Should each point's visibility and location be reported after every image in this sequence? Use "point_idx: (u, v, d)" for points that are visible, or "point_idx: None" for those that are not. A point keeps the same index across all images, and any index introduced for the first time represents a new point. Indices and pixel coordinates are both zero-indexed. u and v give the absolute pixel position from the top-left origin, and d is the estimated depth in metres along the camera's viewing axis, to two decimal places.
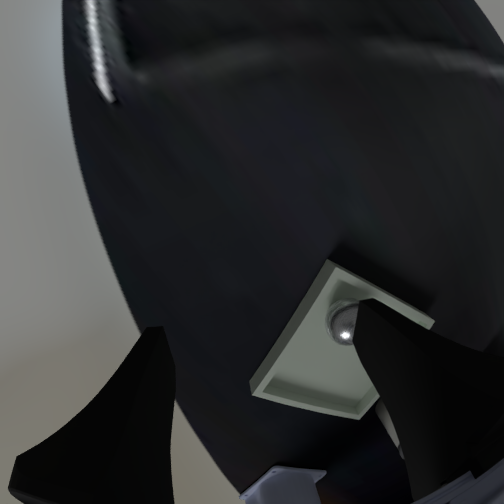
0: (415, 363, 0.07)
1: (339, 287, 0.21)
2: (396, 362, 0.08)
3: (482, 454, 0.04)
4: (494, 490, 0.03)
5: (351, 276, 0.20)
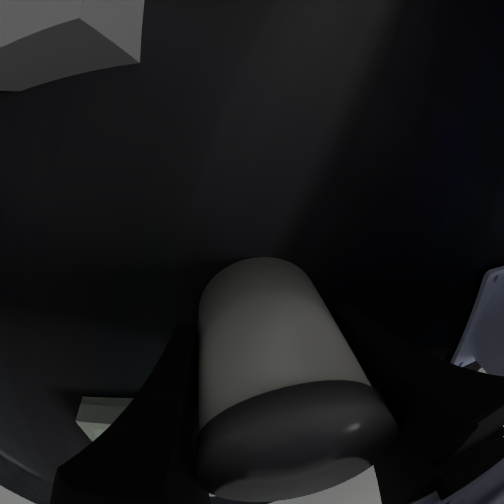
0: (382, 374, 0.07)
1: None
2: (365, 371, 0.08)
3: (449, 475, 0.04)
4: (494, 490, 0.03)
5: None
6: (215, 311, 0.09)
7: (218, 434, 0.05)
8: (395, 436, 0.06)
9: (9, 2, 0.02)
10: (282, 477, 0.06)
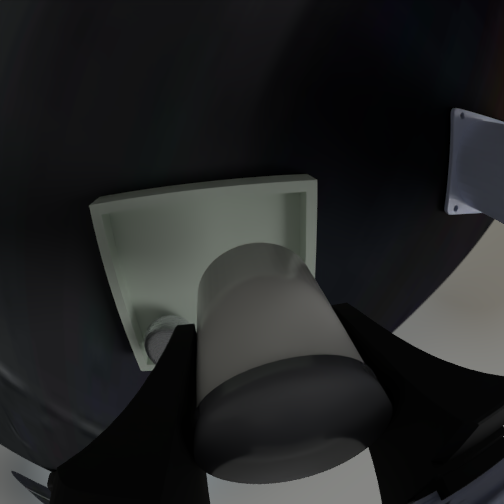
0: (382, 374, 0.07)
1: None
2: None
3: (450, 475, 0.04)
4: (494, 490, 0.03)
5: (136, 356, 0.18)
6: (214, 292, 0.09)
7: (216, 406, 0.06)
8: (389, 416, 0.06)
9: None
10: (277, 455, 0.06)
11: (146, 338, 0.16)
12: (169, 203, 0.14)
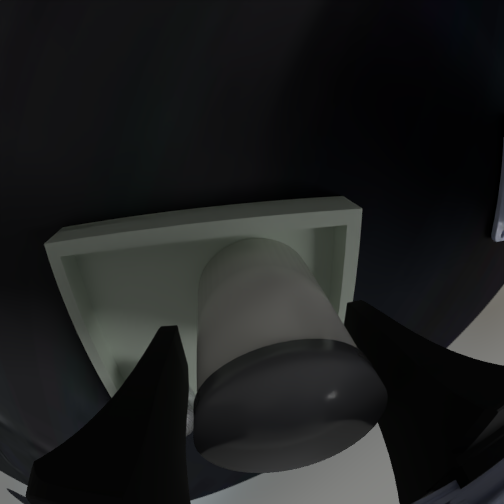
0: (401, 368, 0.07)
1: None
2: (382, 366, 0.08)
3: (468, 463, 0.04)
4: (494, 490, 0.03)
5: None
6: (214, 284, 0.10)
7: (216, 388, 0.06)
8: (384, 402, 0.06)
9: None
10: (276, 440, 0.06)
11: None
12: (151, 243, 0.10)
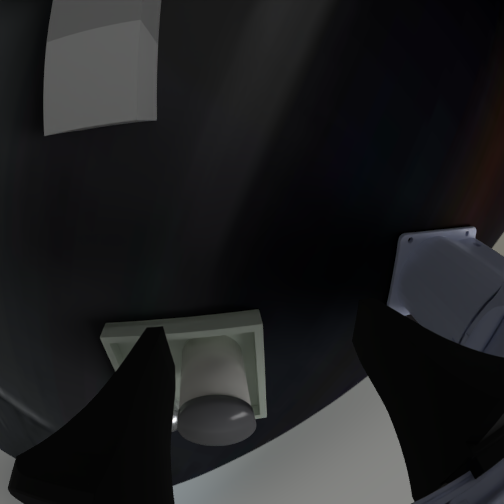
0: (415, 363, 0.07)
1: None
2: (396, 362, 0.08)
3: (482, 454, 0.04)
4: (494, 490, 0.03)
5: None
6: (187, 360, 0.20)
7: (184, 409, 0.16)
8: (253, 420, 0.16)
9: (98, 102, 0.11)
10: (209, 430, 0.16)
11: None
12: None
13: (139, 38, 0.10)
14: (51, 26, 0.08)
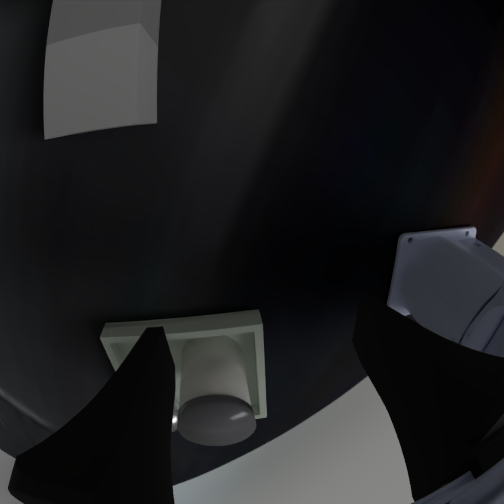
0: (415, 363, 0.07)
1: None
2: (396, 362, 0.08)
3: (482, 454, 0.04)
4: (494, 490, 0.03)
5: None
6: (187, 360, 0.20)
7: (184, 409, 0.16)
8: (253, 420, 0.16)
9: (98, 106, 0.11)
10: (209, 430, 0.16)
11: None
12: None
13: (139, 42, 0.10)
14: (51, 29, 0.08)
